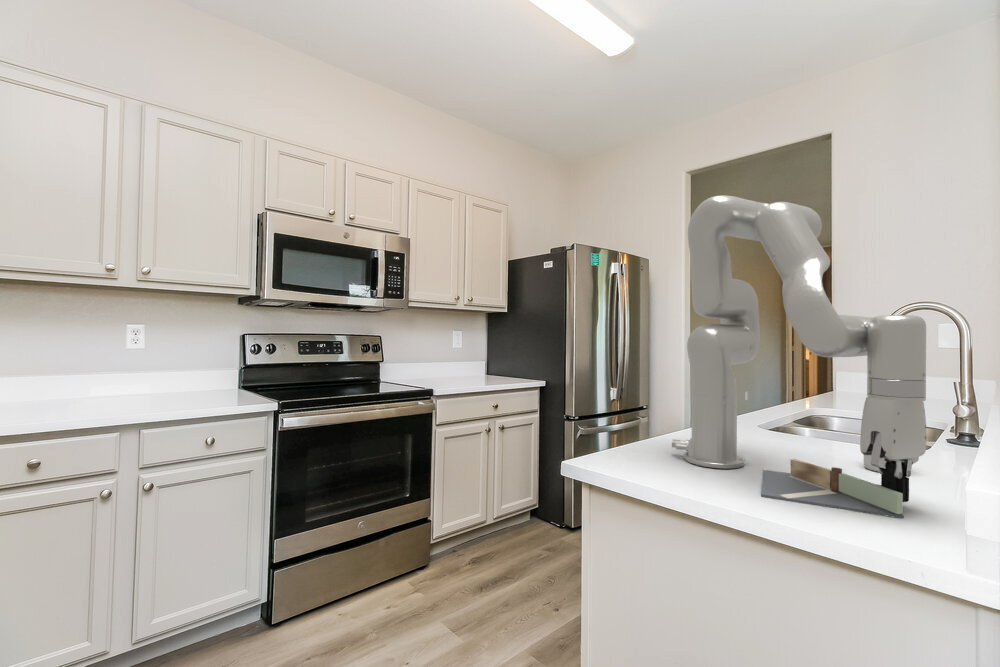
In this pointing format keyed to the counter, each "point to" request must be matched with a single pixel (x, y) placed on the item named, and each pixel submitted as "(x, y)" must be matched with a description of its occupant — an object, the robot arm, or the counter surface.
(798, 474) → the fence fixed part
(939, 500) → the counter surface
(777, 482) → the board
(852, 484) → the fence hinged panel
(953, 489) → the counter surface
